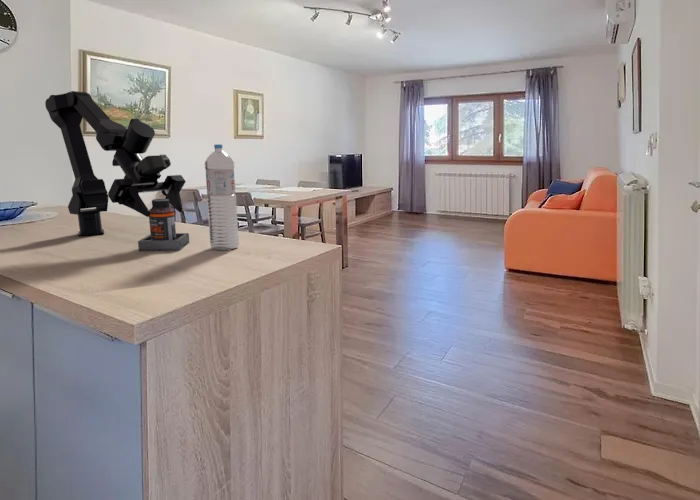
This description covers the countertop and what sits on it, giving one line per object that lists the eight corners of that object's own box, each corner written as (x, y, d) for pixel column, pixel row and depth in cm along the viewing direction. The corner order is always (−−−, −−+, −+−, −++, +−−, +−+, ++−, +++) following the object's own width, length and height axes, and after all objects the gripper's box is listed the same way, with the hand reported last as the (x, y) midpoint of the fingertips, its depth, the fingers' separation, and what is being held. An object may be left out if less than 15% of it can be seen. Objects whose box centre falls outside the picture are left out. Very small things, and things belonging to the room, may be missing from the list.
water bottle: (231, 251, 115) (225, 144, 110) (205, 250, 117) (197, 144, 111) (243, 245, 122) (237, 144, 116) (218, 244, 123) (211, 144, 118)
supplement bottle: (146, 246, 119) (141, 201, 116) (159, 241, 124) (155, 198, 122) (169, 247, 118) (165, 201, 115) (181, 242, 124) (177, 198, 121)
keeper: (138, 251, 116) (137, 241, 116) (151, 243, 125) (150, 233, 125) (179, 250, 117) (178, 240, 116) (189, 242, 126) (188, 233, 126)
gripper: (109, 143, 110) (143, 194, 107) (178, 143, 125) (209, 188, 122) (94, 177, 116) (126, 226, 113) (161, 173, 131) (191, 216, 128)
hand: (165, 213), depth 119 cm, fingers open, 9 cm apart
